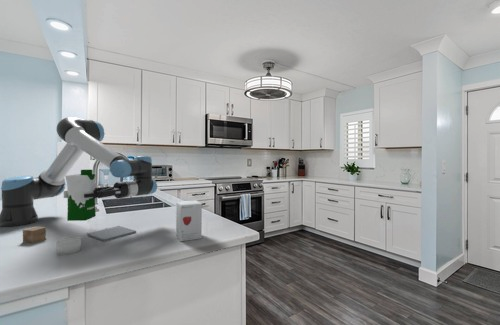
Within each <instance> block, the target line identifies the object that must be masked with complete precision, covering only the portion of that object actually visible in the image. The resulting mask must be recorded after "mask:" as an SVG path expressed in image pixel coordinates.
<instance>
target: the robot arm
mask: <svg viewBox="0 0 500 325" xmlns="http://www.w3.org/2000/svg"><path fill="white" fill-rule="evenodd" d="M56 134H57V135H58V137H59V138H60V139H61V140H62V141H64V142H65V143H66V144H65V145H64V146H63V148H62V149H61V150H60V152H59V153H58V155H56V158H55V159H54V160H53V161H52V163H51V164H50V165H49V167H48V169H47V170H43V171H41V173H40V174H39V175H38V176H37V177H33V175H19V176H13V177H8V178H5V179H3V180H2V182H1V187H0V189H1V211H0V227H15V226H16V227H17V226H23V225H28V224H29V225H30V224H32V223H36V222H38V220H39V216H38V213H37V211H36V208H35V207H34V200H41V199H47V198H53V197H57V196H60V195H61V194H63V199H68V195H67V190H65V189H66V177H65V176H67V175H68V173H69V172H70V171H71V169H72V168H73V167H74V165H75V164H76V163H77V161H79V159H80V158H81V156H82V155H83V154H84V153H85V154H87V155H89V156H91V157H92V158H93V159H95V160H96V161H98V162H99V163H101V164H102V165H104V166H105V167H107V168H108V169H109V172H110V173H111V175H112V176H113V177H115V178H130V177H135V180H125V181H117V182H114V184H113V186H110V185H109V186H103V187H102V186H100V187H95V190H94V193H93V191H90V192H80V193H73V195H74V200H82V199H90V198H93V197H94V198H95V199H96V198H97V199H102V198H108V197H109V198H110V197H113V196H114V197H115V198H116V199H123V198H130V199H131V198H133V197H138V196H146V195H151V194H154V193H156V192H157V190H158V184H157V181H156V180H155V179H154V178H153V176H152V175H153V163H152V162H153V161H152V156H148V155H147V156H145V155H139V156H137V155H136V157H135V158H134V159H130V160H129V159H127V158H125V157H124V156H122V155H121V154H120V153H118V152H116V151H115V150H113V149H112V148H111V147H109V146H107V145H106V144H104V143H102V141H103V140H104V138H105V129H104V126H103V125H102V124H101V123H100V122H98V121H95V120H93V119H90V120H89V119H86V118H85V119H84V118H79V117H74V116H73V117H72V116H71V117H70V116H69V117H63V119H61V120H59V121H58V123H57V126H56Z"/></svg>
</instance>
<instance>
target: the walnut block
mask: <svg viewBox="0 0 500 325" xmlns="http://www.w3.org/2000/svg"><path fill="white" fill-rule="evenodd" d="M46 230H47V228H46V226H32V227H29V228H24V229H22V243H25V244H26V243H27V244H36V243H39V242H41V241H44V239H45V240H46V239H47V234H46V233H47V232H46Z"/></svg>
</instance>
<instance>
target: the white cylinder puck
mask: <svg viewBox="0 0 500 325" xmlns="http://www.w3.org/2000/svg"><path fill="white" fill-rule="evenodd" d="M80 251H82V238H81V237H77V236H74V237H68V238H67V237H66V238H63V239H60V240H58V241H57V242H56V254H57V255H59V256H60V255H61V256H67V255H73V254H75V253H78V252H80Z"/></svg>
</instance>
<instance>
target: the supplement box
mask: <svg viewBox="0 0 500 325" xmlns="http://www.w3.org/2000/svg"><path fill="white" fill-rule="evenodd" d="M202 204H203V203H202V202H200V201H199V200H197V199H196V200H195V199H194V200H180V201H176V212H175V214H176V216H175V218H176V221H175V222H176V223H175V224H176V225H175V226H176V227H175V229H176V230H175V231H176V232H175V235H176V237H177V238H178V240H179V241H180V242H185V241H192V240H199V239H202V229H203V228H202V223H203V222H202V221H203V220H202V217H203V216H202V214H203V212H202V211H203V209H202V208H203V207H202V206H203V205H202Z"/></svg>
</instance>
